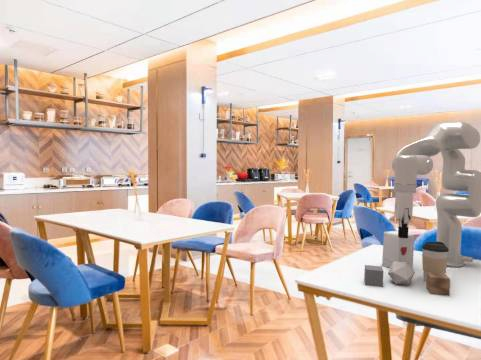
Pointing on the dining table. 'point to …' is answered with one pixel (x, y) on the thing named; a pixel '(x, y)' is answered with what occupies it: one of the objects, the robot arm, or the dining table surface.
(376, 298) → the dining table surface
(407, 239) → the supplement box
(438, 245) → the coffee cup
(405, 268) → the die
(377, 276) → the charcoal block
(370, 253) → the dining table surface
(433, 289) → the walnut block
